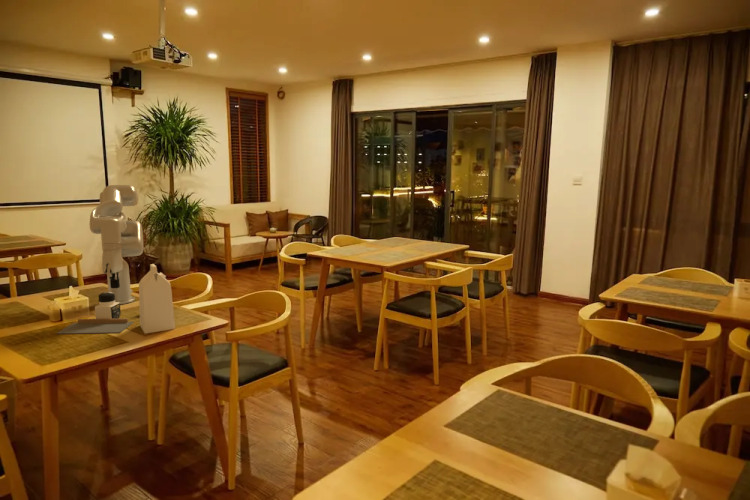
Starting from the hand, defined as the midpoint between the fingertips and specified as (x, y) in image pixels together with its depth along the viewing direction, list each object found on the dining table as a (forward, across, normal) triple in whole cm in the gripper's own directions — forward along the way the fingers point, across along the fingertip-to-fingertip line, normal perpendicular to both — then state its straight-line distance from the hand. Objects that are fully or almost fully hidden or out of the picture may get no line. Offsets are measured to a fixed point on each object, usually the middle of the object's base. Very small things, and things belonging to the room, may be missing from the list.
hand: (115, 287), depth 217 cm
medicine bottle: (+13, +8, 0) cm, 15 cm away
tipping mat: (+13, +18, 0) cm, 22 cm away
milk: (+13, +18, +24) cm, 32 cm away
